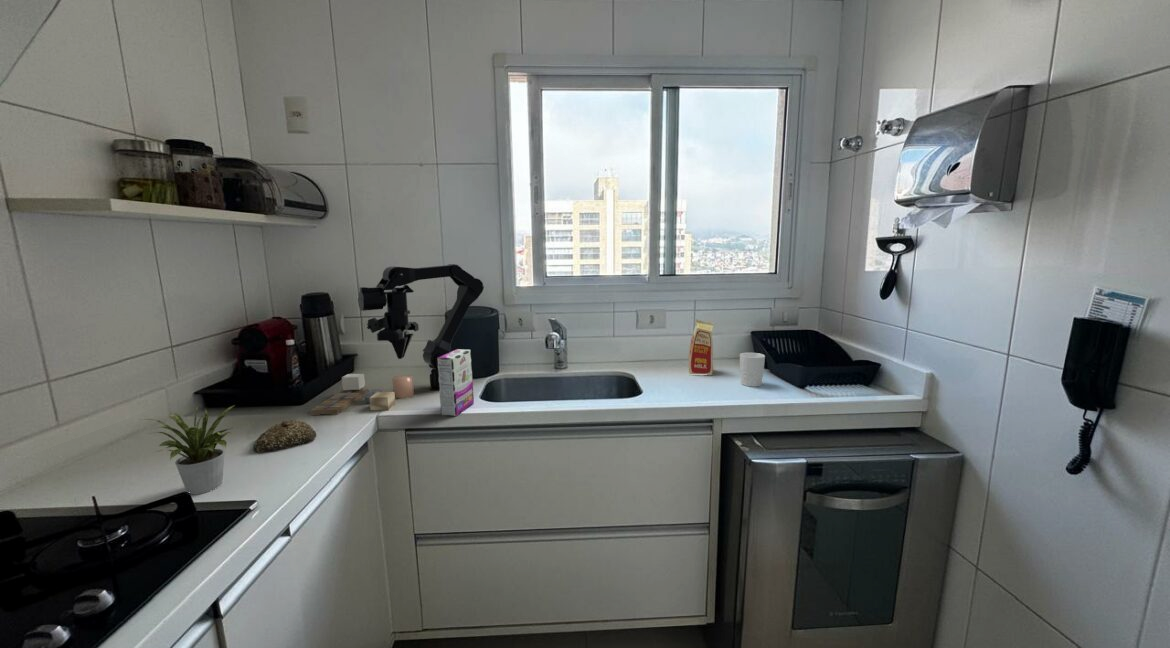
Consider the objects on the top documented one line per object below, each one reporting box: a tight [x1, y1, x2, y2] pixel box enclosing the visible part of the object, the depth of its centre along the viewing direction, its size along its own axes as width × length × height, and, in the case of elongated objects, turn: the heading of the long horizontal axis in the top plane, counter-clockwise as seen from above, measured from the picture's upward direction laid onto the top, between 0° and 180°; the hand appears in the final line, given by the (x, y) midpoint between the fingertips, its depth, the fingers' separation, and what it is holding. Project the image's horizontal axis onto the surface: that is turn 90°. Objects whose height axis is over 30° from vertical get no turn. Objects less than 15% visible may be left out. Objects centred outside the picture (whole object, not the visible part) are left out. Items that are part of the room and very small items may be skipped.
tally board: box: [310, 387, 369, 416], centre depth 133 cm, size 20×7×2 cm, turn 3°
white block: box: [341, 373, 366, 390], centre depth 141 cm, size 4×5×4 cm
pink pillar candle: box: [391, 374, 415, 399], centre depth 140 cm, size 6×6×6 cm
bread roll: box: [252, 419, 317, 454], centre depth 107 cm, size 13×12×5 cm
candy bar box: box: [437, 348, 475, 417], centre depth 126 cm, size 11×5×16 cm, turn 168°
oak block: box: [369, 391, 396, 411], centre depth 129 cm, size 5×5×4 cm
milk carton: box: [688, 318, 716, 376], centre depth 164 cm, size 9×9×20 cm
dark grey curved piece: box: [364, 389, 384, 404], centre depth 135 cm, size 5×5×3 cm
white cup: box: [739, 351, 766, 388], centre depth 149 cm, size 8×8×10 cm
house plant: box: [137, 403, 236, 495], centre depth 83 cm, size 14×14×16 cm
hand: (400, 358), depth 138 cm, fingers closed
